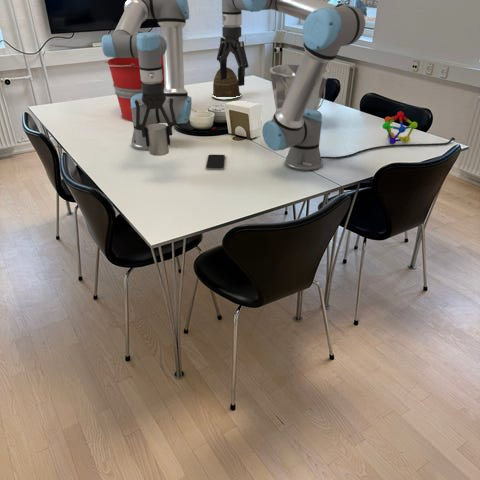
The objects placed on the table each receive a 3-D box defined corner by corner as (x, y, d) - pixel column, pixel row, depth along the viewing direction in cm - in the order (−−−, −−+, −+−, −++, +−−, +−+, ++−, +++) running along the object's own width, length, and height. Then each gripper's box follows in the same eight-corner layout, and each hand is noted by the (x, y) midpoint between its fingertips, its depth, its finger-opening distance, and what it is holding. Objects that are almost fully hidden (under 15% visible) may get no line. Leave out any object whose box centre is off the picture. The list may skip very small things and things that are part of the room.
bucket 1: (121, 106, 263) (114, 51, 247) (180, 106, 262) (176, 52, 246) (104, 123, 233) (95, 63, 217) (170, 124, 232) (166, 64, 216)
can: (151, 156, 164) (148, 130, 159) (148, 150, 170) (145, 124, 165) (170, 154, 166) (168, 128, 161) (166, 147, 172) (164, 122, 167)
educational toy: (377, 146, 209) (379, 114, 202) (384, 138, 219) (386, 107, 211) (411, 149, 202) (415, 116, 195) (417, 141, 212) (420, 109, 204)
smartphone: (205, 167, 182) (208, 154, 195) (205, 169, 182) (208, 155, 195) (223, 168, 182) (225, 154, 194) (223, 169, 182) (225, 156, 195)
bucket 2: (296, 138, 215) (301, 78, 201) (255, 124, 234) (256, 68, 219) (335, 125, 232) (342, 70, 217) (294, 113, 251) (297, 61, 236)
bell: (227, 105, 294) (202, 96, 282) (238, 66, 289) (213, 55, 277) (243, 108, 280) (217, 98, 268) (255, 66, 275) (229, 55, 263)
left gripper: (122, 85, 149) (131, 150, 162) (182, 82, 153) (186, 146, 165) (122, 80, 155) (130, 142, 168) (179, 77, 159) (184, 139, 171)
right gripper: (207, 23, 180) (209, 77, 191) (241, 30, 162) (241, 89, 174) (223, 22, 184) (224, 75, 195) (258, 28, 166) (256, 87, 177)
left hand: (158, 144), depth 167 cm, fingers closed on can, 7 cm apart
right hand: (232, 82), depth 184 cm, fingers open, 13 cm apart
